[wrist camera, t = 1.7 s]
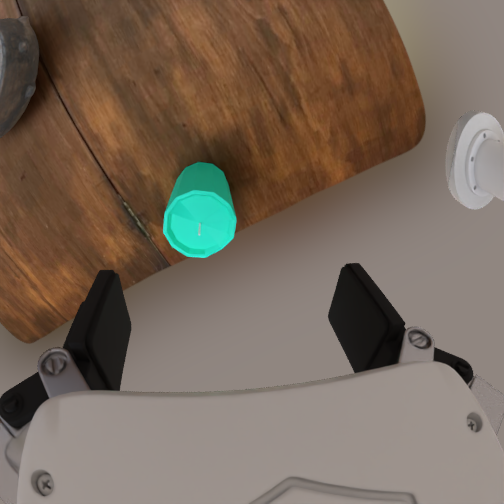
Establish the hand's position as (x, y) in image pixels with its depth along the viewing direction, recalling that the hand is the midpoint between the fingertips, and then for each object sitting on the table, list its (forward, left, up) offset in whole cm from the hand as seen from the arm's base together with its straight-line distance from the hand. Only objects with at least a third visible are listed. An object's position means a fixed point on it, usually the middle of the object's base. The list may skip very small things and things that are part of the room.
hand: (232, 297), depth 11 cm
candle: (+2, +2, -22) cm, 23 cm away
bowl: (+26, -15, -22) cm, 37 cm away
